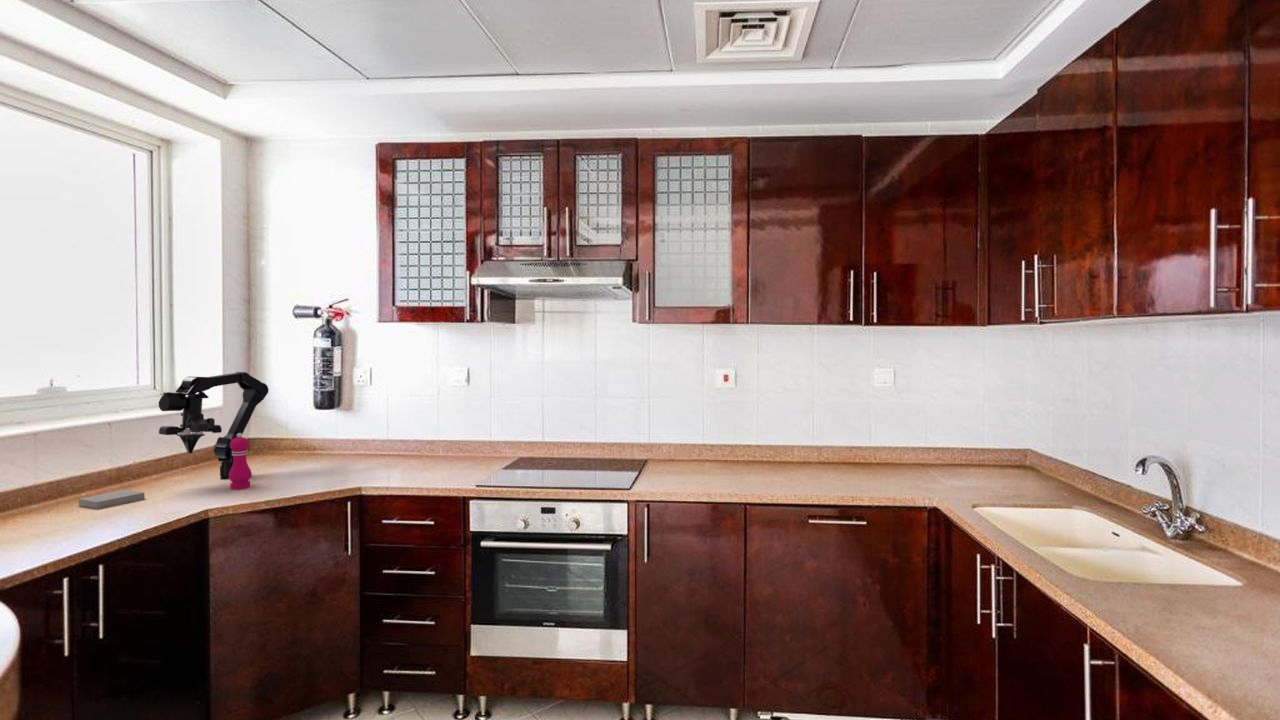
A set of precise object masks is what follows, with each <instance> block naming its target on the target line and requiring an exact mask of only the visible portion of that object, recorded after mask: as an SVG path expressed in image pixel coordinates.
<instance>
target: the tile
mask: <svg viewBox="0 0 1280 720" xmlns="http://www.w3.org/2000/svg"><path fill="white" fill-rule="evenodd" d="M145 497H146V496H145V492H144V491H143V492H142V491H136V490H130V489H123V490H117V491H111V492H106V493H102V494H98V495H92V496H86V497H82V498H78V507H82V506H83V507H84V508H88V507H89V509H93V508H94V510H100V509H99V508H101V509H104V508H109V506H110V507H114V506H119V505H122V504H123V503H124V504H127V503H128V502H129V503H133V502H136V501H137V502H138V501H142V500H143V501H144V500H146V499H145ZM129 503H128V504H129Z"/></svg>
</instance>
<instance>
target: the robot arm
mask: <svg viewBox="0 0 1280 720" xmlns="http://www.w3.org/2000/svg"><path fill="white" fill-rule="evenodd" d="M232 384H237V385H238V386H239V388H240V389H241V390H243V392H242V403H241V405H240V408H239V409H238V411H237V413H236V416H235V417H234V419H233V421H232V424H231V426H230V427H229V430H228V432H227V433H226V434H225V436H223V437H221V436H219V437H217V441H216V442H215V443H214V445H213V454H214V456H215V457H216V458H217V460H218V462H220V464H221V465H220V466H219V477H220V478H219V479H221V480H224V479H225V480H226V479H229V472H230V470H231V468H232V466H233V462H234V458H233V455H232V451H233V450H232V449H231V448H230V442H231V441H232V440H233V439H234V438H237V434H238V433H241V434H242V435H243V434H244V432H245V429H246V428H247V426H248V424H249V422H250V420H251V417H252V415H253V413H254V411H255V409H256V407H257V406H258V405H259V404H260V403H261V402H262V401H263V400H265V398H266V397H267V395H268V393H269V390H270V389H269V387H268V385H267V383H265V382H262V381H260V380H259V379H257V378H255V377H253V376H251V375H250V374H249V373H248V372H246V371H236V372H232V373H226V374H218V375H213V376H185V377H184V378H183V379H182V381H181V383H180V385H179V386H178V387H177V389H175V391H174V392H172V391H169V392H168V391H164V392H163V395H162V396H161V397H160V399H159V400H158V407H159V410H160V411H162V412H180V411H182V412H181V413H180V417H182V420H181V421H182V422H181V424H180V426H177V425H164V426H163V425H162V426H160V428H159V429H158V434H159V435H163V436H173V435H174V436H175V435H176V437H179V438H180V439H181V441H182V443H183V445H184V448H185V449H186V452H187V453H188V454H192V453H193V451H194V449H195V447H196V445H197V443H198V441H199V439H201V438H202V437H203V436H206V434H205V433H210V432H211V433H212V434H216V433H217V434H218V433H219V434H220V433H222V431H223V430H222V429H223V428H222V426H221V425H220V424H215V418H213V417H210V418H204V416H205V415H204V413H202V411H203V399H209V396H208V394H206V393H205V391H208V390H211V389H212V388H214V387H220V386H226V385H232ZM204 432H205V433H204ZM229 480H230V479H229Z"/></svg>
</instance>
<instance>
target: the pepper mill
mask: <svg viewBox="0 0 1280 720" xmlns="http://www.w3.org/2000/svg"><path fill="white" fill-rule="evenodd" d="M249 447H250V441H249V439H248V438H246V437H243V434H241V433H238V434H237V438H234V439H233V440H232V441H231V442H230V448H231V449H232V450H233V451H232V455H233V458H234V462H233V466H232V468H231V470H230V472H229V481H230V482H231V483H230V489H231V490H245V489H249V488H250V487H251V481H250V479H251V478H252V475H253V473H252V470H251V468H250V466H249V465H248V462H247V455H248V454H249V453H248V452H249V450H248V448H249Z"/></svg>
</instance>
